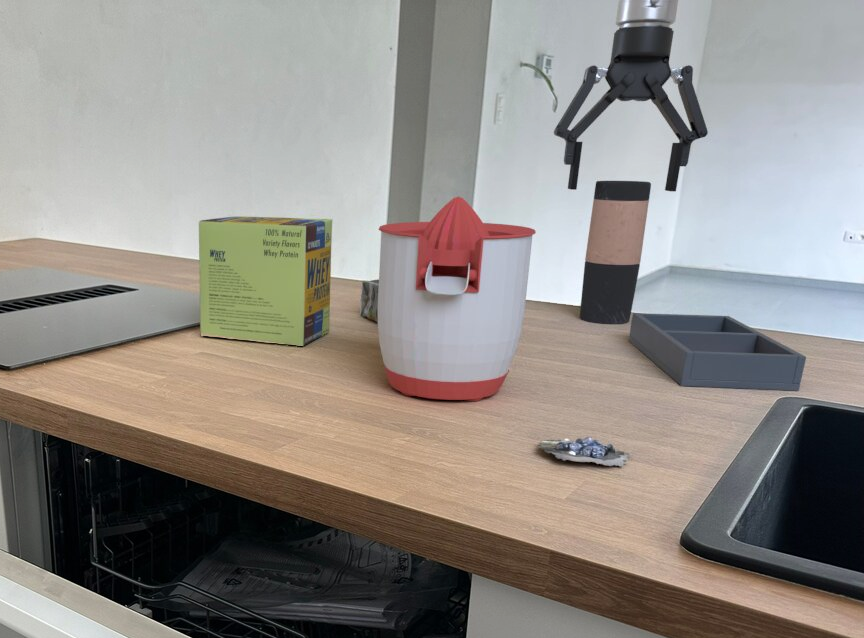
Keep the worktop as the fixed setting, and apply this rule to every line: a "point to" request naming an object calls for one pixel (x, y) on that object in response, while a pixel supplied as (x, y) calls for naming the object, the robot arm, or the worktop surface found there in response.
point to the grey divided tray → (716, 352)
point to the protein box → (265, 278)
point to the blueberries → (585, 451)
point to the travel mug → (614, 250)
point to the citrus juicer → (451, 303)
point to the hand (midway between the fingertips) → (620, 190)
